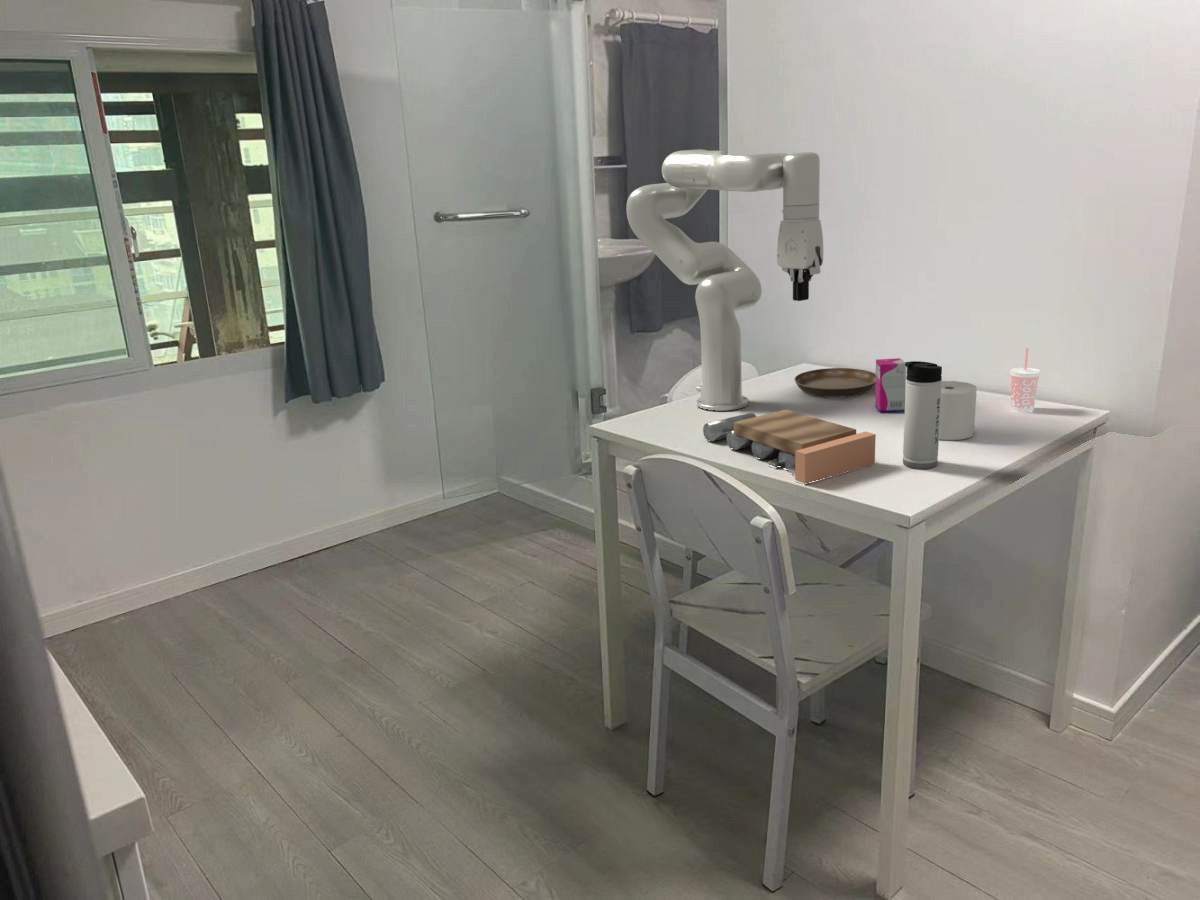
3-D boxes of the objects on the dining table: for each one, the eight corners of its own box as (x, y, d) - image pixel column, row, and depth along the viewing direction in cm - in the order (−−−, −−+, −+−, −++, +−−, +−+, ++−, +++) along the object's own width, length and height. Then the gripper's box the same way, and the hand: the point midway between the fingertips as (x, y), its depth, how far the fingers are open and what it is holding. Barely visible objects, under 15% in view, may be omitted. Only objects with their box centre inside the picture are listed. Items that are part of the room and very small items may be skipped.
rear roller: (703, 439, 199) (702, 421, 197) (746, 428, 204) (746, 411, 203) (714, 443, 195) (714, 425, 194) (758, 432, 201) (758, 414, 200)
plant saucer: (836, 405, 219) (837, 391, 218) (777, 390, 236) (777, 377, 235) (896, 389, 230) (896, 376, 229) (835, 376, 246) (835, 364, 245)
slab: (733, 434, 188) (733, 422, 188) (785, 420, 195) (785, 409, 194) (801, 457, 172) (801, 444, 171) (856, 441, 178) (856, 429, 178)
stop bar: (795, 481, 171) (795, 450, 169) (864, 460, 179) (865, 431, 178) (804, 485, 169) (804, 454, 167) (874, 463, 177) (875, 434, 176)
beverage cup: (1007, 413, 204) (1012, 350, 200) (1007, 405, 209) (1011, 345, 205) (1037, 414, 202) (1043, 351, 197) (1036, 406, 207) (1042, 345, 203)
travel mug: (895, 460, 178) (899, 359, 172) (928, 457, 179) (933, 356, 173) (908, 471, 172) (913, 366, 166) (943, 467, 173) (948, 363, 167)
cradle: (768, 466, 180) (768, 461, 180) (821, 451, 187) (821, 446, 186) (795, 476, 174) (795, 470, 173) (849, 460, 180) (849, 455, 180)
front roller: (750, 453, 186) (753, 436, 184) (795, 441, 191) (798, 424, 189) (763, 462, 183) (766, 445, 181) (808, 450, 188) (811, 433, 186)
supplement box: (899, 405, 215) (901, 357, 211) (905, 412, 209) (907, 363, 206) (874, 406, 215) (875, 358, 212) (878, 413, 210) (880, 364, 206)
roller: (822, 451, 185) (826, 434, 183) (836, 460, 182) (840, 443, 180) (776, 464, 179) (780, 446, 177) (790, 474, 176) (794, 456, 174)
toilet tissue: (978, 440, 187) (981, 393, 184) (916, 441, 189) (918, 393, 186) (968, 425, 197) (971, 380, 194) (909, 426, 199) (911, 381, 196)
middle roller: (725, 444, 192) (728, 427, 190) (769, 432, 198) (772, 416, 196) (736, 453, 189) (740, 437, 187) (781, 441, 195) (785, 425, 193)
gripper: (764, 214, 200) (764, 299, 206) (812, 215, 188) (812, 305, 193) (790, 211, 204) (790, 294, 209) (839, 212, 191) (838, 301, 197)
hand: (800, 299), depth 201 cm, fingers closed
